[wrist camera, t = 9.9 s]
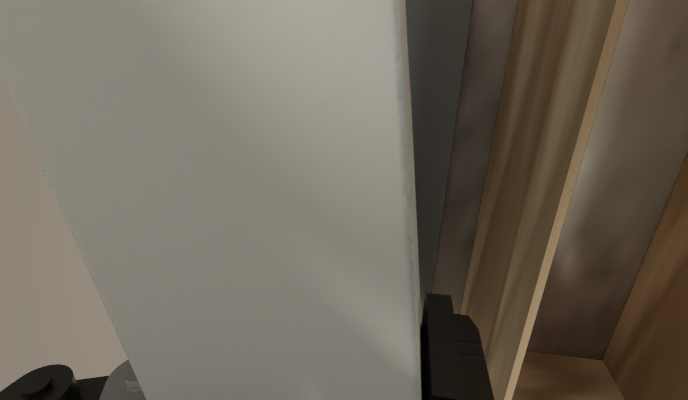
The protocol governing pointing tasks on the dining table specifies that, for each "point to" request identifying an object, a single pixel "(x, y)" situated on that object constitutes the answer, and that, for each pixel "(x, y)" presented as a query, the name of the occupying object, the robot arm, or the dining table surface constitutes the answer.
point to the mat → (434, 112)
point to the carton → (549, 214)
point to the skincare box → (234, 186)
